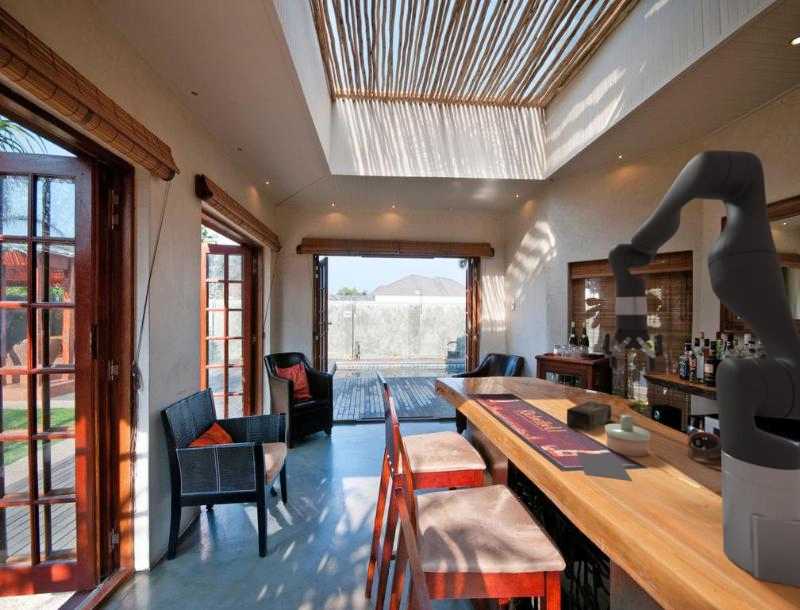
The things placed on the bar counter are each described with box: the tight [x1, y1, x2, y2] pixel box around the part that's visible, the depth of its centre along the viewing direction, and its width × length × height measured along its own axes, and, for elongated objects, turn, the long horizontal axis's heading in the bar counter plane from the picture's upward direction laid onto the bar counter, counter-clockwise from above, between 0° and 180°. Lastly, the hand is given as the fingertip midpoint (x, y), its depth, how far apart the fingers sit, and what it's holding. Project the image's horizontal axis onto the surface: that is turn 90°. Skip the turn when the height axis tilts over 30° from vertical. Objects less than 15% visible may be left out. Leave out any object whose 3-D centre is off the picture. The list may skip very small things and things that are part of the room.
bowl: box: [606, 433, 649, 458], centre depth 99 cm, size 10×10×5 cm
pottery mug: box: [686, 429, 722, 460], centre depth 95 cm, size 12×10×8 cm
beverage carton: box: [566, 400, 612, 432], centre depth 124 cm, size 8×19×7 cm, turn 128°
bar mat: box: [576, 451, 633, 482], centre depth 90 cm, size 14×10×1 cm
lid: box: [604, 414, 651, 442], centre depth 99 cm, size 11×11×5 cm
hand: (632, 370), depth 98 cm, fingers open, 8 cm apart
